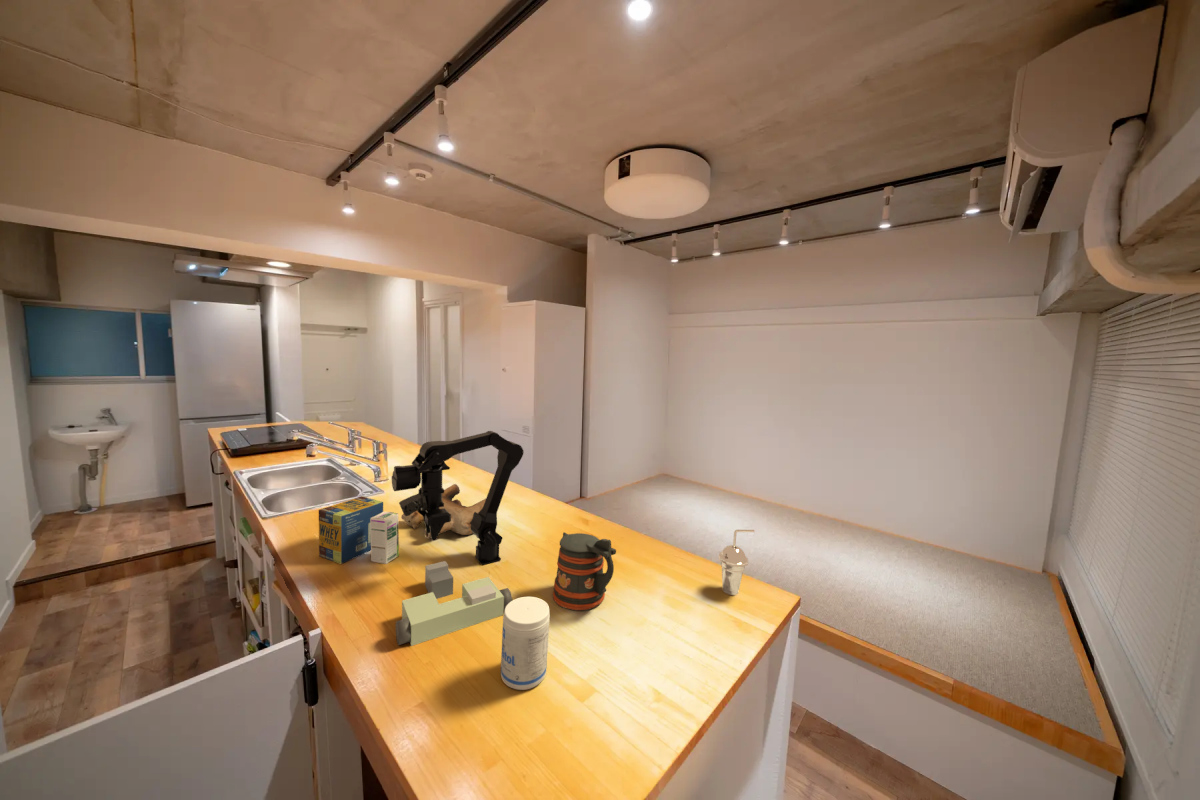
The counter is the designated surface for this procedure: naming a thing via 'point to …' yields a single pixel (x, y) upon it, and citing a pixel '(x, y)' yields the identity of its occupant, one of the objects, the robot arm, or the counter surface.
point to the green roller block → (450, 611)
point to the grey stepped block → (438, 579)
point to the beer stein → (582, 571)
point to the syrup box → (384, 537)
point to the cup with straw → (733, 566)
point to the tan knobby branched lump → (459, 513)
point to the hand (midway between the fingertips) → (431, 536)
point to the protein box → (347, 528)
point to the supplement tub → (525, 642)
